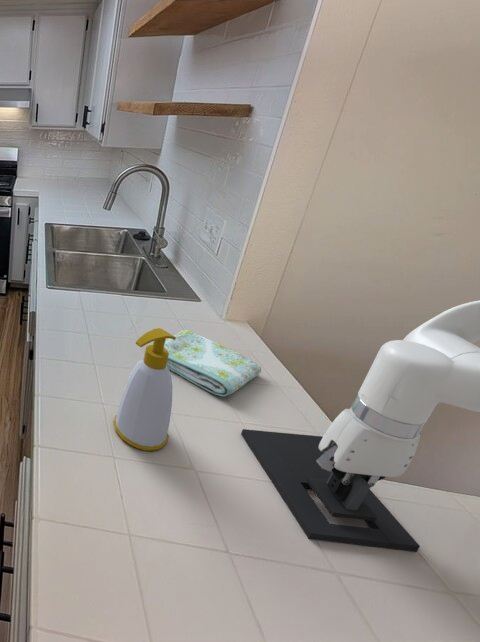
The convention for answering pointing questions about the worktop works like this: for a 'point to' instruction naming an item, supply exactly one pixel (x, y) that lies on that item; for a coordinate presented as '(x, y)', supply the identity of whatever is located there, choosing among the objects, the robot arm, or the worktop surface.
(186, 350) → the towel
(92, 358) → the worktop surface
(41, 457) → the worktop surface
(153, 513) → the worktop surface
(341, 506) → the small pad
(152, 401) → the soap bottle
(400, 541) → the big pad
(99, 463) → the worktop surface
